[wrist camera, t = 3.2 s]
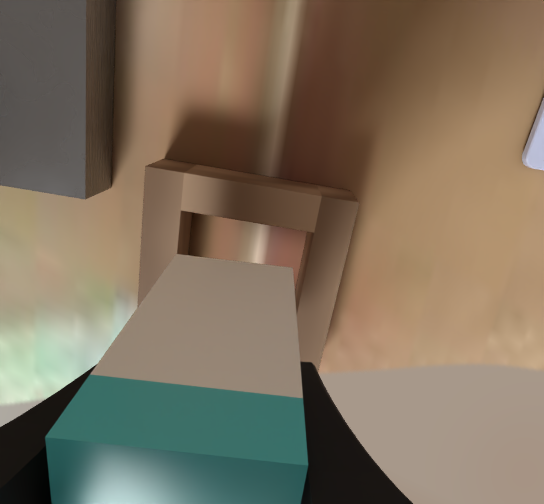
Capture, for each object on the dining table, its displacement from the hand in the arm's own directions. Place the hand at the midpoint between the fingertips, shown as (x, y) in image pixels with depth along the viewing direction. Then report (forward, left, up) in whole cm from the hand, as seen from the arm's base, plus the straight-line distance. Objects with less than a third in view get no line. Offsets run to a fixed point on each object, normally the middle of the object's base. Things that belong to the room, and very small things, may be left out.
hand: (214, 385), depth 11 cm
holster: (0, 0, -9) cm, 9 cm away
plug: (0, 0, -3) cm, 3 cm away
